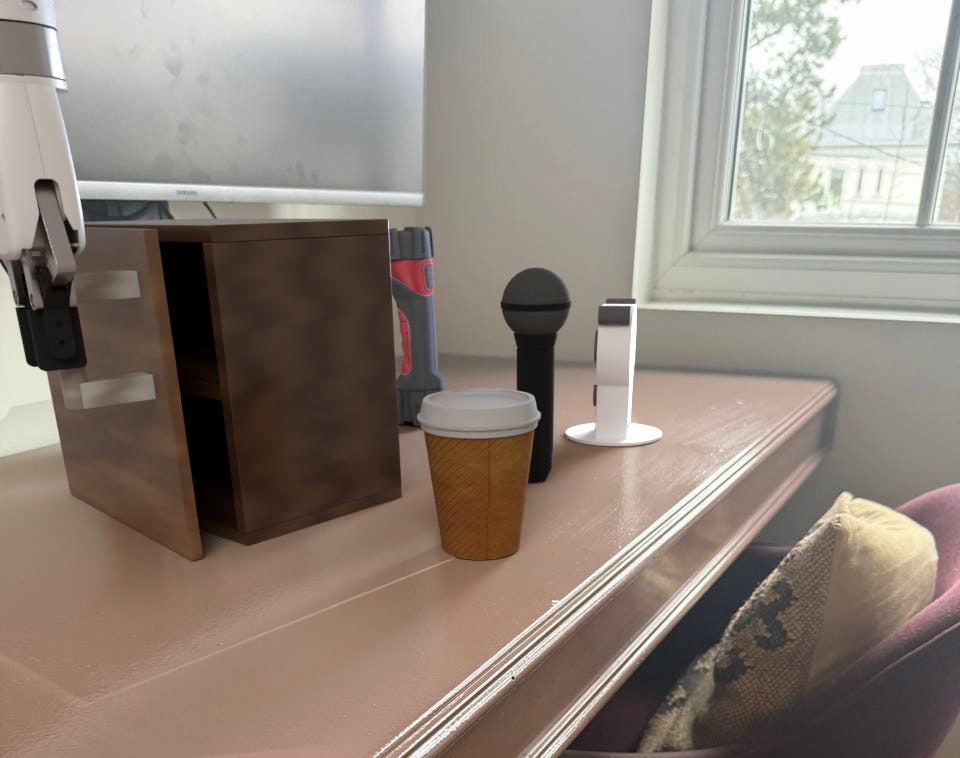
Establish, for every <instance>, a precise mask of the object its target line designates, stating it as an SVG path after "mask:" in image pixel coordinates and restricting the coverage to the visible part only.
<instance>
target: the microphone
mask: <svg viewBox="0 0 960 758" xmlns="http://www.w3.org/2000/svg"><path fill="white" fill-rule="evenodd" d="M566 284H567V283H565V282H564V280H563V279H562V278H561V277H560V275H558V274H557V273H556V272H554V271H552V270H550V269H548V268H545V267H529V268H526V269H523V270H521V271H520V272H517V273H516V274H515V275H514V276H513V277H512V278H511V279H510V280H509V281H508V283H507V284H506V285H505V288H504V290H503V293H502V296H501V301H500V309H501V313H502V316H503V319H504V322H505V323H506V325H507V326H508V327H509V329H510V330H511V331H512V332H513V337H514V341H515V345H516V391H521V392H526V393H529V394H531V395H533V396H534V398H535V401H536V406H537V410H538V411H539V412H540V413H541V418H540V420H539V421H538V426H537V427H536V428H535V429H534V437H533V447H532V455H531V462H530V470H529V478H528V484H529V483H530V484H531V483H532V484H538V483H540V484H541V483H544V482H546V481H547V478H548V477H549V475H550V473H551V471H552V469H553V454H554V415H555V354H556V349H555V346H556V343H557V339H558V335H559V331H561V329H562V328H563V326H564V325H565V324H566V321H567V320H568V318H569V315H570V311H571V308H572V300H571V295H570V291H569V289H568V287H567V285H566Z"/></svg>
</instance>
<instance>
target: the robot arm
mask: <svg viewBox="0 0 960 758" xmlns="http://www.w3.org/2000/svg"><path fill="white" fill-rule="evenodd" d="M58 31H59V30H58V24H57V17H56V12H55V6H54V1H53V0H0V260H3V263H4V266H5V267H6V269H7V270H6V271H7V274H8V278H9V284H10V290H11V295H12V298H13V302H14V305H15V307H14V309H15V313H16V318H17V324H18V328H19V333H20V338H21V342H22V348H23V352H24V358H25V361H26V364H27V365H28V366H30V367H33V368H38V369H39V370H40V371H43V372H47V371H56V370H65V369H74V368H83V367H85V366H86V365H87V357H86V352H85V346H84V341H83V335H82V330H81V324H80V318H79V313H78V307H77V297H76V291H75V285H74V278H73V277H74V275H75V274H76V263H75V260H74V257H77V256H78V255H79V254H80V253H81V252H82V251H83V250H84V248H85V246H86V237H85V227H84V222H85V221H84V214H83V213H84V212H83V207H82V201H81V196H80V190H79V186H78V185H79V184H78V179H77V174H76V170H75V165H74V160H73V155H72V152H71V147H70V143H69V137H68V133H67V129H66V125H65V124H66V123H65V120H64V117H63V112H62V108H61V105H60V101H59V96H58V95H63V94H68V92H69V89H68V83H67V77H66V71H65V65H64V59H63V53H62V47H61V41H60V35H59V32H58ZM33 251H40V255H36V256H32V254H31V252H33Z"/></svg>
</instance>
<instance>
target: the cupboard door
mask: <svg viewBox="0 0 960 758" xmlns="http://www.w3.org/2000/svg"><path fill="white" fill-rule="evenodd" d="M85 237H86V246H85V248H84V250H83V251H82V252H81V253H80V254H79V255H78V256H77V257H74V260H75V263H76V274H75V275H74V277H73V278H74V285H75V291H76V297H77V307H78V313H79V318H80V324H81V330H82V335H83V341H84V346H85V352H86V357H87V365H86V366H85V367H83V368H74V369H65V370H56V371H46V376H47V380H48V385H49V391H50V397H51V403H52V407H53V412H54V417H55V422H56V427H57V432H58V438H59V443H60V448H61V452H62V458H63V462H64V468H65V472H66V473H65V474H66V478H67V483H68V489H69V494H70V495H71V496H74V497H75V498H77V499H78V500H81V501H82V502H84V503H86V504H88V505H90V506H91V507H93V508H95V509H97V510H98V511H100V512H102V513H104V514H105V515H108V516H109V517H112V518H113V519H115V520H117V521H119V522H120V523H122V524H124V525H126V526H128V527H129V528H131V529H133V530H135V531H137V532H138V533H141V534H142V535H144V536H145V537H147V538H149V539H151V540H153V541H155V542H157V543H159V544H160V545H162V546H164V547H165V548H168V549H169V550H171V551H173V552H175V553H176V554H178V555H180V556H182V557H183V558H185V559H187V560H189V561H191V562H195V561H200V560H203V559H204V553H203V547H202V540H201V533H200V532H201V531H200V530H199V524H198V517H197V510H196V503H195V496H194V489H193V481H192V474H191V467H190V460H189V453H188V446H187V439H186V432H185V425H184V418H183V410H182V403H181V396H180V389H179V382H178V375H177V368H176V361H175V354H174V346H173V339H172V332H171V325H170V318H169V311H168V304H167V297H166V290H165V282H164V275H163V268H162V261H161V254H160V247H159V240H158V233H157V229H132V228H97V227H85ZM31 254H32V256H36V255H40V251H33V252H31Z"/></svg>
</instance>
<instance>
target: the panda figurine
mask: <svg viewBox="0 0 960 758" xmlns="http://www.w3.org/2000/svg"><path fill="white" fill-rule="evenodd" d="M597 310H598V311H597V324H598V328H597V329H596V330H595V334H594V344H593V362H594V364H596V384H593V389H592V390H593V391H592V405H593V407H595V422H590V423H583V424H578V425H574V426H570V427H569V428H567V429H566V430H565V437H566V438H567V439H568V440H571V441H573V442H576V443H580V444H584V445H590V446H599V447H600V446H601V447H602V446H603V447H631V446H632V447H633V446H640V445H647V444H651V443H655V442H657V441H660V440H661V439H662V437H663V431H662V430H660V429H659V428H657V427H653V426H651V425H646V424H641V423H633V422H632V403H633V385H634V384H633V383H634V374H635V362H636V350H637V349H636V348H637V324H638V323H637V322H638V321H637V317H638V315H637V314H638V311H637V298H619V297H618V298H617V297H616V298H614V297H612V298H610V297H609V298H607V297H606V299H605V303H602V304H601V305H598V308H597Z"/></svg>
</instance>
